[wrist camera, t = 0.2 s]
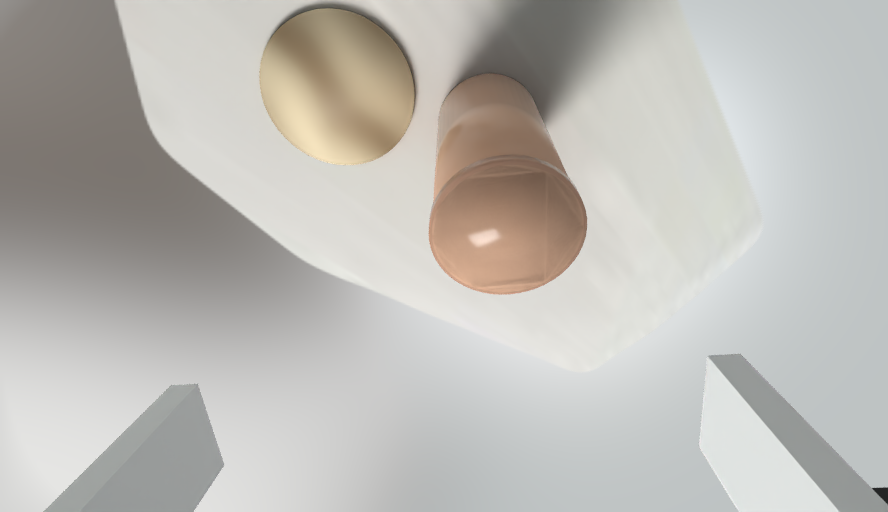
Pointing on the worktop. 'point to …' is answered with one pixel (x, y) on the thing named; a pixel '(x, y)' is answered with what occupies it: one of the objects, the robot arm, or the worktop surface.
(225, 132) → the worktop surface
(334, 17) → the disc
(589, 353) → the worktop surface
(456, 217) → the jar
